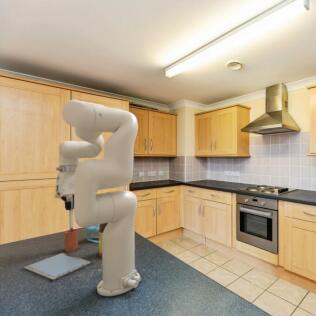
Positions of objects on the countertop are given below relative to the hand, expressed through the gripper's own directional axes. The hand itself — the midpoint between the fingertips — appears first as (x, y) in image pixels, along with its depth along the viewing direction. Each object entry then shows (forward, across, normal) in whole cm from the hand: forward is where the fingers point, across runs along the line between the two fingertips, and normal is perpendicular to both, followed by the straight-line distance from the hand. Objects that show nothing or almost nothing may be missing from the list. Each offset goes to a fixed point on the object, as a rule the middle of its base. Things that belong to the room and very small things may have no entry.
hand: (71, 209), depth 96 cm
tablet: (+19, -10, -10) cm, 24 cm away
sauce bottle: (+20, +4, -18) cm, 27 cm away
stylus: (+10, 0, 0) cm, 10 cm away
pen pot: (+19, 0, +1) cm, 19 cm away
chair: (+19, +12, +2) cm, 23 cm away
